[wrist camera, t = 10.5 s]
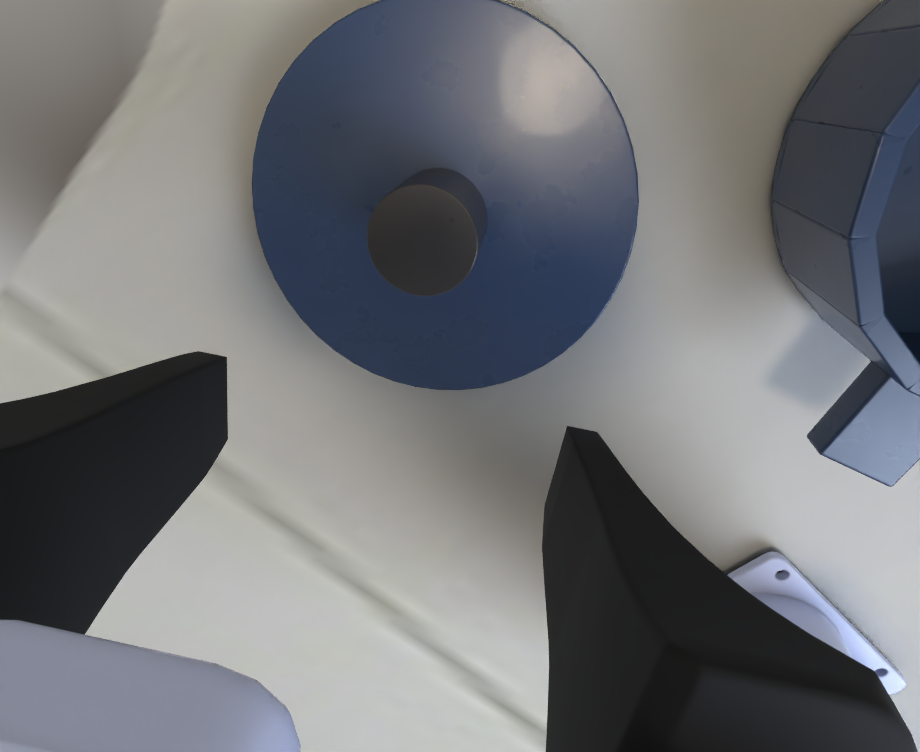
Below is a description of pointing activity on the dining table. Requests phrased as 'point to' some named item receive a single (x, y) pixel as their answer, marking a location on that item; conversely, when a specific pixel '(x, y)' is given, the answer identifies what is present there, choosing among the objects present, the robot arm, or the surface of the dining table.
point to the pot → (861, 232)
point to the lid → (445, 191)
